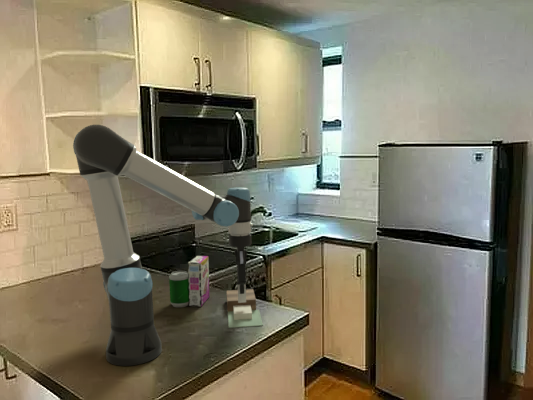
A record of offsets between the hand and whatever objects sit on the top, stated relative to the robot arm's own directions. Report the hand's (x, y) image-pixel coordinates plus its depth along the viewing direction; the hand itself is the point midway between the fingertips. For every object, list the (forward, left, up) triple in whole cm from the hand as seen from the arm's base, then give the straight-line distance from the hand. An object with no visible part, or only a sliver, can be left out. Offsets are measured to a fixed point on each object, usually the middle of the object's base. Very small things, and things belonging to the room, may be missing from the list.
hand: (242, 301), depth 156 cm
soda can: (+15, +22, -5) cm, 27 cm away
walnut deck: (+10, 0, -5) cm, 11 cm away
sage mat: (-3, -1, -5) cm, 6 cm away
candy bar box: (+17, +15, -5) cm, 23 cm away
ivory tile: (0, 0, -5) cm, 5 cm away
